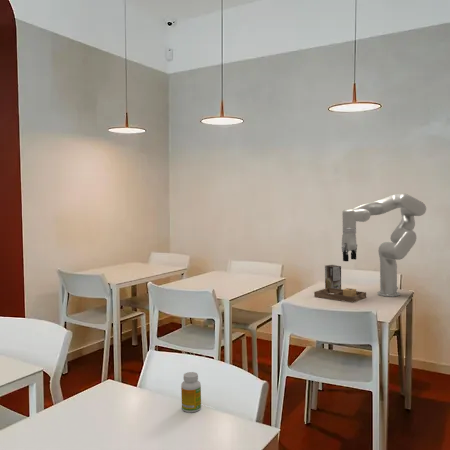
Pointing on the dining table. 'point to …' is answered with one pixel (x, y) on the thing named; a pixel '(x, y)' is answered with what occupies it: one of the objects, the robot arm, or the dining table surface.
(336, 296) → the organiser
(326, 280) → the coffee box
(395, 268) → the robot arm
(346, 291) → the marked cube
